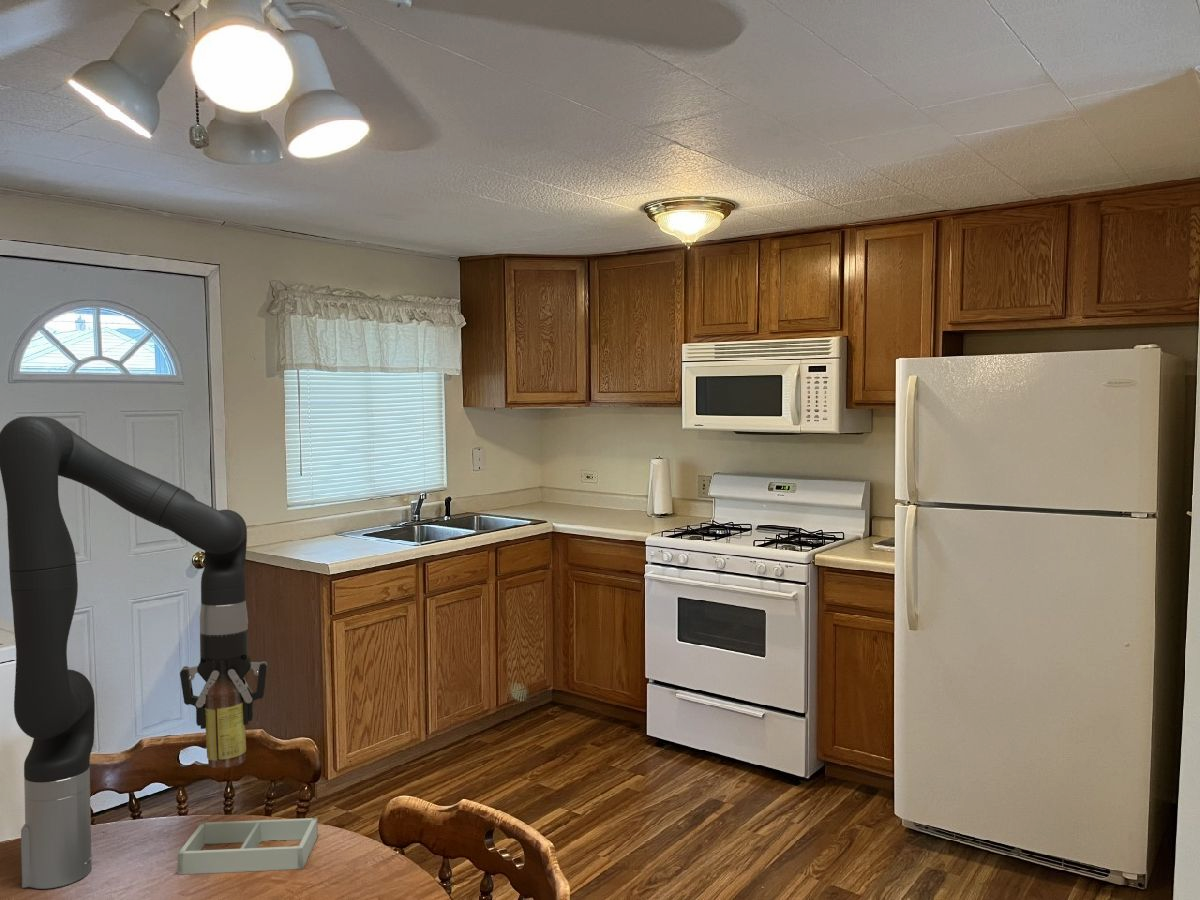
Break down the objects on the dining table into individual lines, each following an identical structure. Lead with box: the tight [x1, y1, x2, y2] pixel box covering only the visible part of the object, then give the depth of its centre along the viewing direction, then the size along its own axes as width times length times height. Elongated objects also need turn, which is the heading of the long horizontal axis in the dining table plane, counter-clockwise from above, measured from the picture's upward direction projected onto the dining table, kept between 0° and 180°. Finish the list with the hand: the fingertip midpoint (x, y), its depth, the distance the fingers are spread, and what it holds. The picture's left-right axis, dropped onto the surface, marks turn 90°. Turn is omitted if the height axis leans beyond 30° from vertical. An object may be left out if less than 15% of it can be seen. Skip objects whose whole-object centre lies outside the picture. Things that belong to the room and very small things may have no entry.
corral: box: [177, 817, 319, 876], centre depth 156 cm, size 20×12×4 cm, turn 96°
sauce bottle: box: [205, 660, 247, 770], centre depth 155 cm, size 7×6×20 cm
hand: (225, 725), depth 155 cm, fingers closed on sauce bottle, 6 cm apart
